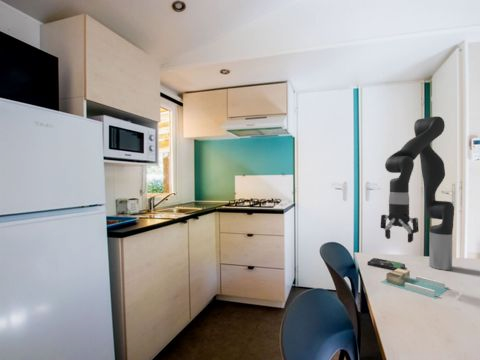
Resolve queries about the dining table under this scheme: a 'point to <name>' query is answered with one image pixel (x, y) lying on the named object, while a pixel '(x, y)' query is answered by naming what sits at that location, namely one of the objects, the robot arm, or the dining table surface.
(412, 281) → the rubber mat
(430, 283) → the pair of grey bars
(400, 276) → the tan rectangular block
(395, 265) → the disk drive
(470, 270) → the dining table surface
